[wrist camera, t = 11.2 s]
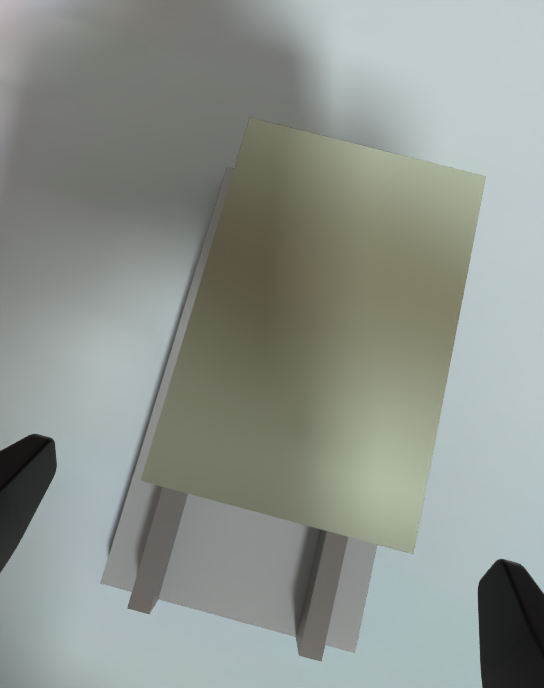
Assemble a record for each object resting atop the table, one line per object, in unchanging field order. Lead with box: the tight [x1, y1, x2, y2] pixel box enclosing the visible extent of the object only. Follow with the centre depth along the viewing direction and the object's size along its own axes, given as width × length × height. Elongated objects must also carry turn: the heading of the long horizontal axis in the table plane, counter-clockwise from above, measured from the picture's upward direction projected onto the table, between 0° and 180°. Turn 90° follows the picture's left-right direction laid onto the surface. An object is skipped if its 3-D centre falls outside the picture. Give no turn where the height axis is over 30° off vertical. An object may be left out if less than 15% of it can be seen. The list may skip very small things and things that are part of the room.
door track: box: [101, 167, 377, 661], centre depth 19 cm, size 18×10×2 cm, turn 165°
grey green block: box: [141, 118, 486, 554], centre depth 13 cm, size 6×4×12 cm, turn 165°
